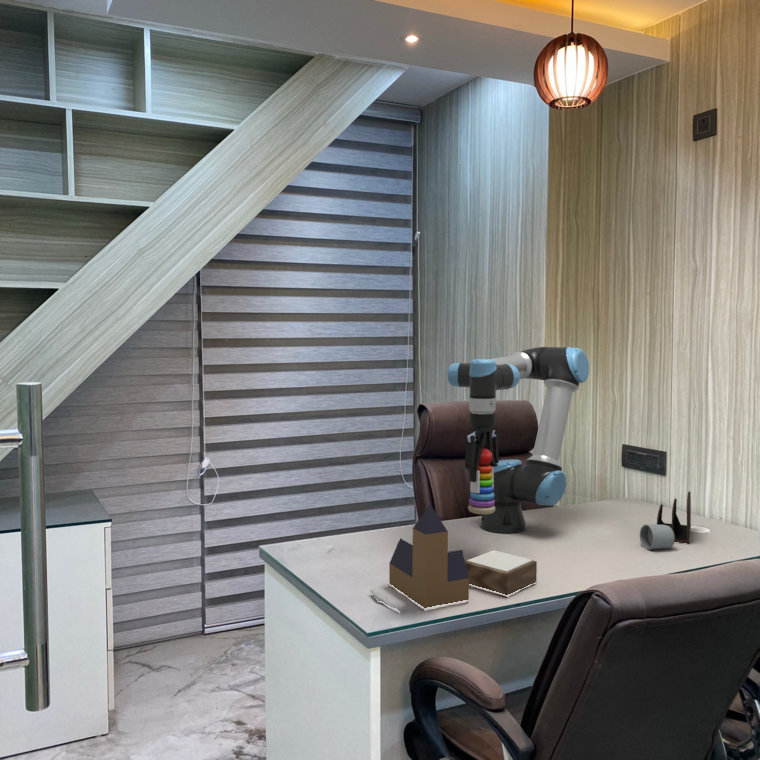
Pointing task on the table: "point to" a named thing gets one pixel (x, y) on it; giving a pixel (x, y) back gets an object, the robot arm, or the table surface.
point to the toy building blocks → (429, 565)
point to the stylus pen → (382, 598)
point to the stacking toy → (483, 487)
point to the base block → (501, 572)
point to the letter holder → (679, 530)
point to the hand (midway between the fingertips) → (482, 490)
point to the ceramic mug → (656, 536)
